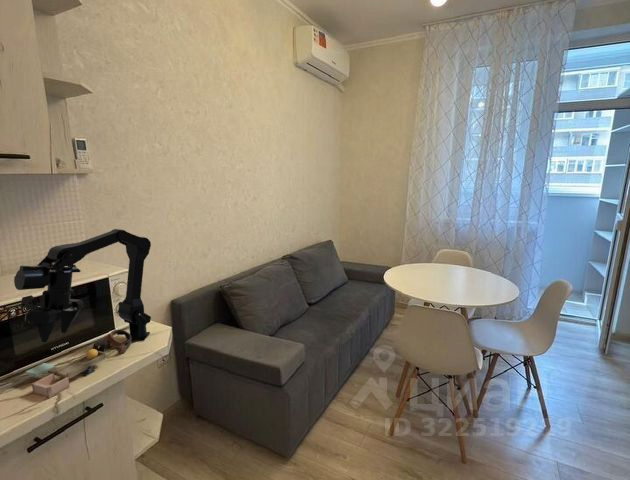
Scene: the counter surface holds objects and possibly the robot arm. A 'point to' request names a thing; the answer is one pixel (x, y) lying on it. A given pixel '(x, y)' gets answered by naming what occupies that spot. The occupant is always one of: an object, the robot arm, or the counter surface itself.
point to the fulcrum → (87, 372)
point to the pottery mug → (113, 342)
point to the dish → (50, 386)
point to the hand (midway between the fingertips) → (54, 337)
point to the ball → (92, 354)
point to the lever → (67, 367)
